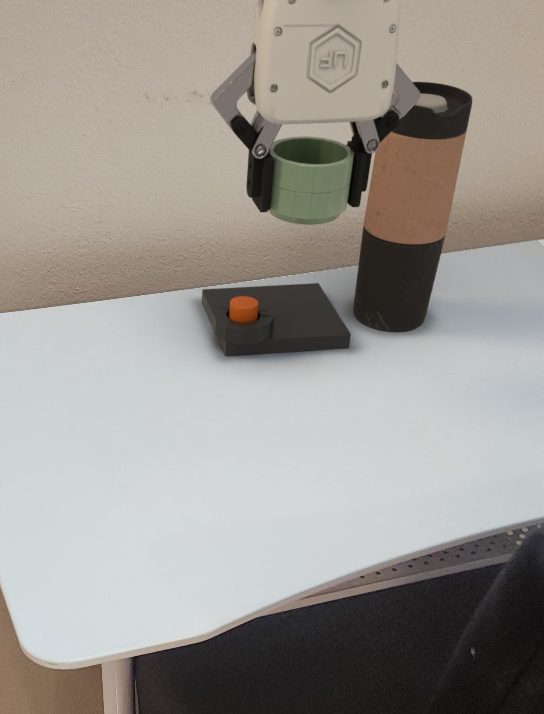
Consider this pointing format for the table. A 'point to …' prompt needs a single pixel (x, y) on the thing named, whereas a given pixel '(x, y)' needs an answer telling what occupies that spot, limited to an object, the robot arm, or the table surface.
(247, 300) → the button
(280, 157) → the bowl
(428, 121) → the travel mug
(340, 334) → the scale
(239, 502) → the table surface
